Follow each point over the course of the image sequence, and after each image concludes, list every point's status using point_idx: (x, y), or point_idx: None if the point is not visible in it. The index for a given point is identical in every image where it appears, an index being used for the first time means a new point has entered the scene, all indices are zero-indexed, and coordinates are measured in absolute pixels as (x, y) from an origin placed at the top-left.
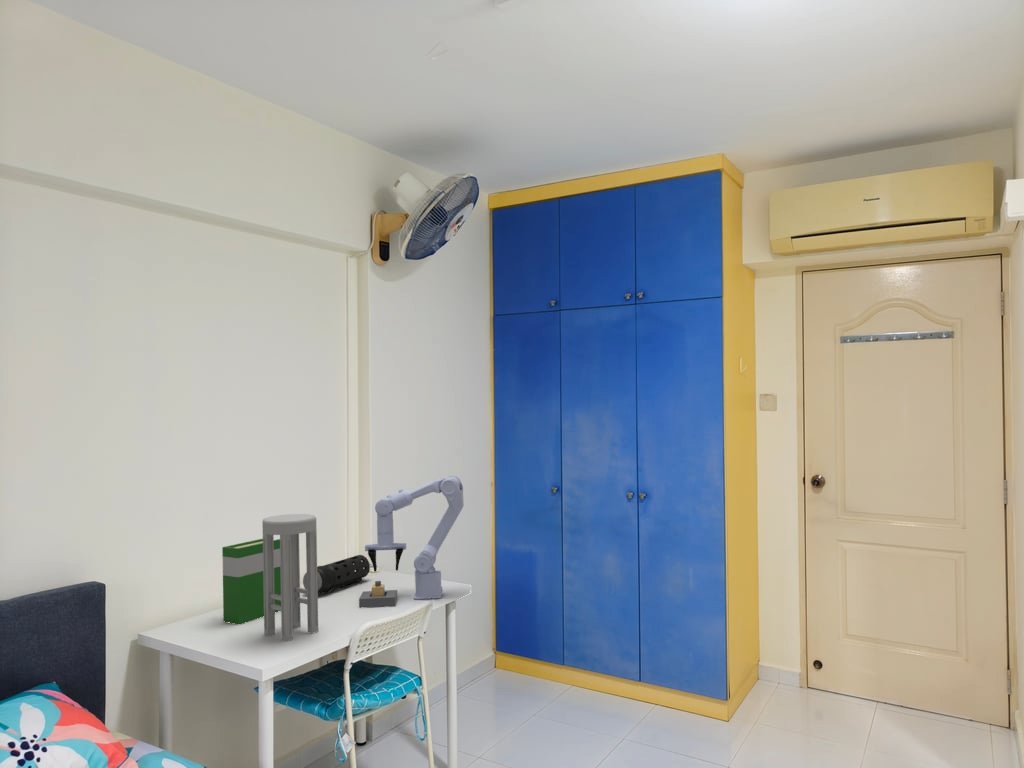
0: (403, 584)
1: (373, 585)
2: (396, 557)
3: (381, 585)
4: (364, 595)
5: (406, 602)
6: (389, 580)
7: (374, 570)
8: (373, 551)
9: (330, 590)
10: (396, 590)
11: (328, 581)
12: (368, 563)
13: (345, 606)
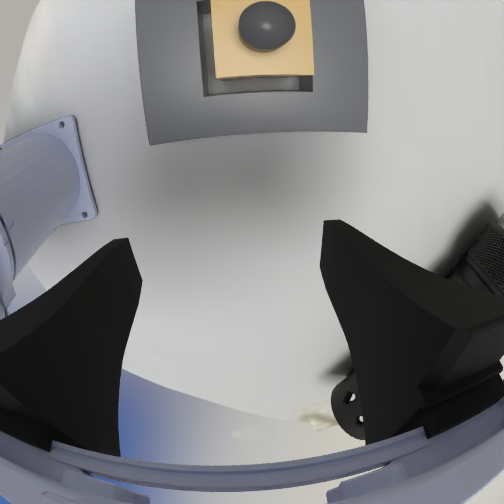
0: (202, 345)
1: (305, 50)
2: (47, 315)
3: (235, 40)
4: (345, 35)
5: (100, 65)
6: (262, 378)
7: (341, 221)
8: (445, 398)
9: (447, 278)
10: (150, 132)
11: (495, 251)
12: (338, 418)
13: (409, 36)
